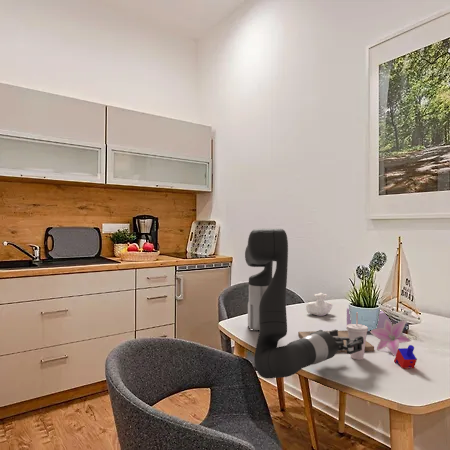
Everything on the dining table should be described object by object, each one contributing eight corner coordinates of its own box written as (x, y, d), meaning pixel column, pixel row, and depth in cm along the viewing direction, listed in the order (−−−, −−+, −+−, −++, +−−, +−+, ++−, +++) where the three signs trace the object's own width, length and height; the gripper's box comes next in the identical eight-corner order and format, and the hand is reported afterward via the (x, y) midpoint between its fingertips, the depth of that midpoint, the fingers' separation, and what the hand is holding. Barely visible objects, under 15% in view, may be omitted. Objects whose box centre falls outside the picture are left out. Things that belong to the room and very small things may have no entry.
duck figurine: (306, 320, 171) (311, 303, 163) (302, 306, 176) (307, 290, 169) (332, 319, 171) (338, 303, 164) (328, 306, 177) (333, 289, 170)
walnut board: (313, 352, 123) (314, 348, 123) (298, 335, 141) (298, 331, 140) (374, 351, 124) (374, 346, 124) (351, 334, 142) (351, 330, 142)
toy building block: (400, 372, 111) (407, 352, 107) (394, 360, 115) (400, 341, 111) (412, 372, 111) (419, 352, 107) (405, 360, 115) (412, 341, 111)
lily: (367, 346, 132) (363, 325, 128) (397, 331, 134) (393, 310, 130) (390, 369, 121) (386, 347, 117) (422, 353, 123) (418, 330, 119)
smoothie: (364, 354, 122) (365, 310, 121) (370, 361, 115) (370, 315, 115) (344, 353, 122) (344, 309, 122) (348, 360, 116) (348, 314, 116)
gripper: (338, 340, 100) (371, 329, 110) (295, 328, 111) (329, 319, 121) (338, 369, 100) (371, 355, 110) (295, 354, 111) (329, 342, 121)
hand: (349, 336), depth 116 cm, fingers open, 8 cm apart
